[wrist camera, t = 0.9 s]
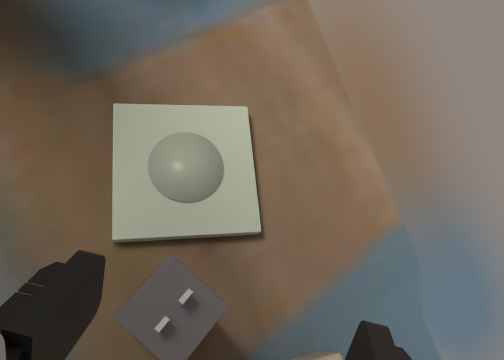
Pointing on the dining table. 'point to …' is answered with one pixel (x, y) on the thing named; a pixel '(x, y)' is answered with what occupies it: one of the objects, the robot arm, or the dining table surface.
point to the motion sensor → (182, 173)
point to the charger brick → (171, 311)
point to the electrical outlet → (320, 356)
